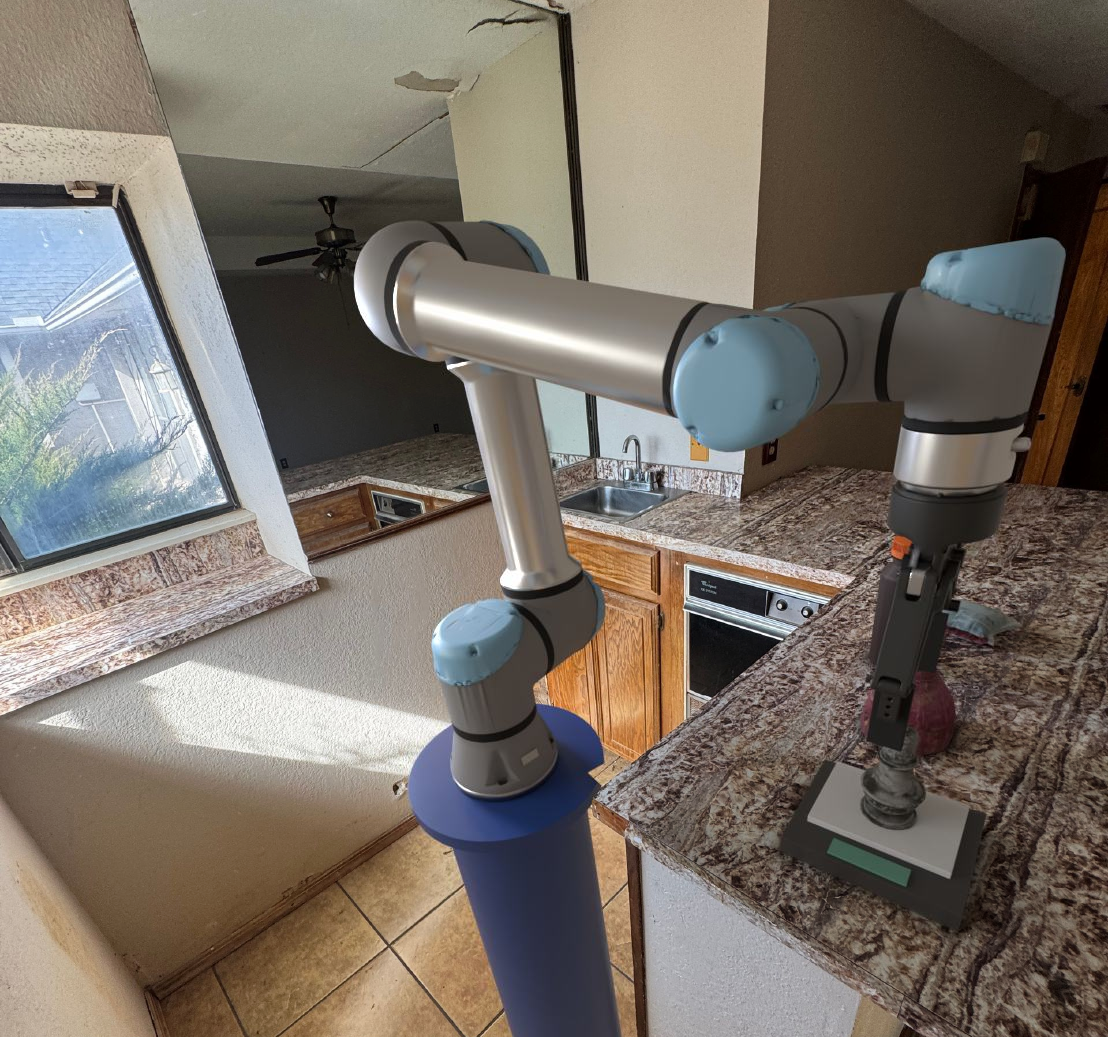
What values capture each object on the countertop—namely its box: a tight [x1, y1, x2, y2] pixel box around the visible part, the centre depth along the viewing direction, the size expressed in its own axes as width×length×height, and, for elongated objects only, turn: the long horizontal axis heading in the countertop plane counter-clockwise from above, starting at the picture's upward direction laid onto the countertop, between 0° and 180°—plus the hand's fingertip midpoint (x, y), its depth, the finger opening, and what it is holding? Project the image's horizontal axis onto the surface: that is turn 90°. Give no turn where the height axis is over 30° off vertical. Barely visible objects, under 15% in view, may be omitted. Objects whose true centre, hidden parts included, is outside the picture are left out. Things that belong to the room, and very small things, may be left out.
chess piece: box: [860, 724, 927, 830], centre depth 57 cm, size 6×6×12 cm
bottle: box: [868, 535, 913, 667], centre depth 83 cm, size 7×7×20 cm
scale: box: [779, 759, 988, 932], centre depth 60 cm, size 16×14×3 cm
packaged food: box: [943, 597, 1023, 647], centre depth 91 cm, size 9×12×5 cm
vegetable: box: [860, 668, 957, 757], centre depth 70 cm, size 10×10×15 cm
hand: (903, 703), depth 54 cm, fingers open, 13 cm apart
